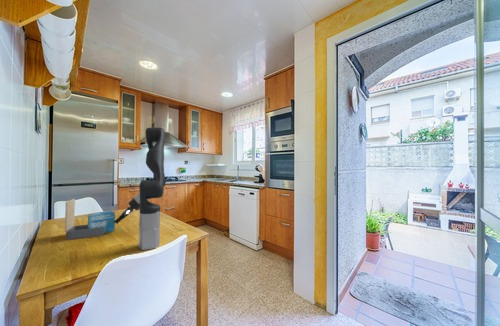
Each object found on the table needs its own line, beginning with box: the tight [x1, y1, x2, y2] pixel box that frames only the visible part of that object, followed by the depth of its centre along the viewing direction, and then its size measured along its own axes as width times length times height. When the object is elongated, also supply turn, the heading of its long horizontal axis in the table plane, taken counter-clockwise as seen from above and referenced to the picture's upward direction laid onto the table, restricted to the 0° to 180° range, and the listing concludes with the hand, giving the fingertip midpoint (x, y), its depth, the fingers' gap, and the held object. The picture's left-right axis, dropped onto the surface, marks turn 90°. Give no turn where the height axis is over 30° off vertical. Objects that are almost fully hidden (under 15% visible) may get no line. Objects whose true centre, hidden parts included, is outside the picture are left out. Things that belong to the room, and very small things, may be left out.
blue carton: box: [87, 210, 116, 234], centre depth 110 cm, size 12×4×12 cm, turn 141°
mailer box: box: [64, 198, 105, 241], centre depth 107 cm, size 10×17×20 cm, turn 116°
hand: (115, 222), depth 113 cm, fingers closed
